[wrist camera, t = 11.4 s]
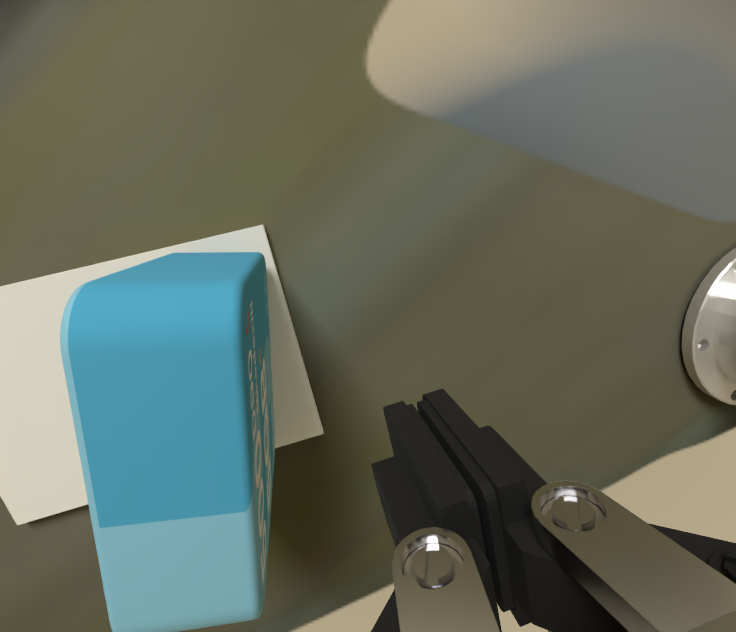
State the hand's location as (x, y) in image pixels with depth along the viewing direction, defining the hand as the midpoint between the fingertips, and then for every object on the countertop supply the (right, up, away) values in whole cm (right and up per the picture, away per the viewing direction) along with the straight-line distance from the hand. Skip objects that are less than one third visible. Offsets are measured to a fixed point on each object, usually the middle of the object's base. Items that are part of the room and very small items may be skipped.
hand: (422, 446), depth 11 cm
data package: (-9, +1, +12) cm, 16 cm away
